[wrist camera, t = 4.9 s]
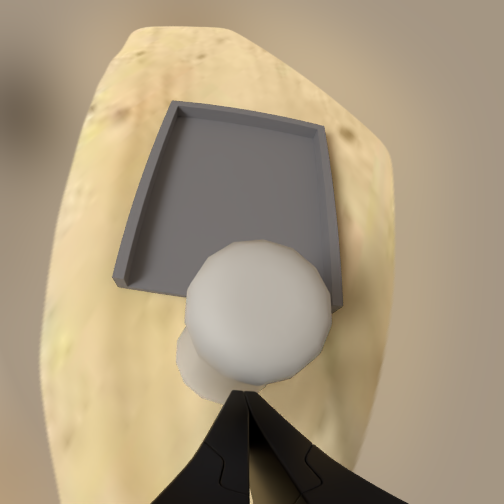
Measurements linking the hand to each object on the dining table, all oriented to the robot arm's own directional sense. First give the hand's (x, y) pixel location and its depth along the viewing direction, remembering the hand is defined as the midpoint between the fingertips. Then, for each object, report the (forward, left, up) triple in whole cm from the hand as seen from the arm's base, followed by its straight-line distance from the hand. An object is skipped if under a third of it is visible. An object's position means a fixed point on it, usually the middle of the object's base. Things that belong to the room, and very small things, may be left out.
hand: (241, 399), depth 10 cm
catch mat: (+16, 0, -9) cm, 18 cm away
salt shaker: (+3, 0, -10) cm, 10 cm away
